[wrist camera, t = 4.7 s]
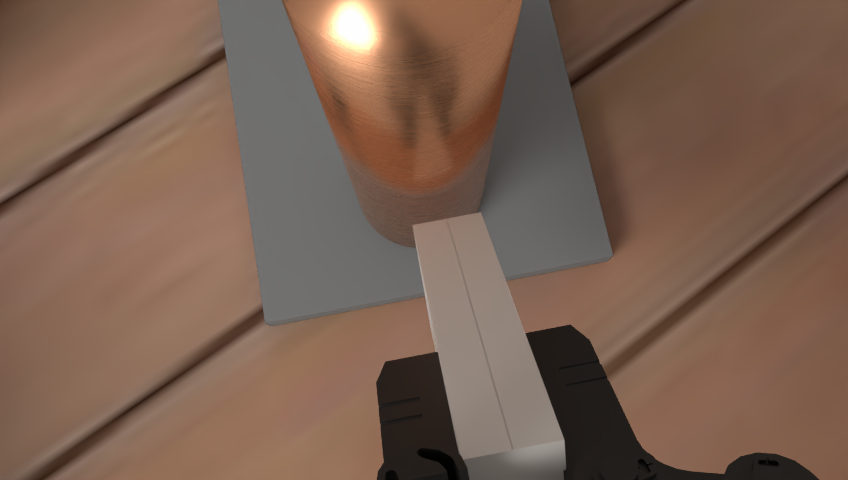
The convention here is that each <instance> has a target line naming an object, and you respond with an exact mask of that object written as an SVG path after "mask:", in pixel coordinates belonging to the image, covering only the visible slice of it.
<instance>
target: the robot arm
mask: <svg viewBox="0 0 848 480" xmlns="http://www.w3.org/2000/svg"><path fill="white" fill-rule="evenodd" d="M412 226H413V232H414V237H415V243H416V248H417V254H418V259H419V265H420V271H421V276H422V282H423V287H424V293H425V298H426V304H427V310H428V315H429V321H430V326H431V331H432V336H433V341H434V346H435V351H436V352H434V353H429V354H423V355H418V356H413V357H408V358H403V359H397V360H392V361H387V362H385V364H384V366H383V369H382V371H381V373H380V375H379V378H378V380H377V382H376V385H377V395H378V405H379V416H380V424H381V437H382V447H383V457H384V463H383V465H382V466H381V468H380V469H379V471H378V476H377V480H819V479H818V478H817V477H816V476H815V475H814V474H812V473H811V472H810V471H809V470H807V469H806V468H804V467H803V466H802V465H800V464H799V463H797V462H796V461H794V460H791V459H788V458H786V457H783V456H780V455H777V454H768V453H753V454H749V455H745V456H741V457H739V458H738V459H736V460H735V461H734V462H732V463H731V464H729V465H728V467H727V469H726V472H725V474H715V473H703V472H691V471H686V470H680V469H676V468H673V467H670V466H668V465H665V464H663V463H661V462H659V461H658V460H656V459H655V458H654V457H653V456H652V455H651V454H649V453H647V452H646V451H645V450H644V449H643V448H642V447H641V445H640V444H639V442H638V441H637V439H636V437H635V435H634V433H633V431H632V428H631V426H630V424H629V422H628V420H627V418H626V416H625V414H624V412H623V409H622V407H621V405H620V403H619V401H618V399H617V397H616V395H615V393H614V391H613V388H612V386H611V384H610V382H609V381H608V380H607V376H606V374H605V372H604V369H603V367H602V365H601V364H600V363H599V359H598V357H597V355H596V353H595V350H594V348H593V346H592V344H591V342H590V340H589V339H587V338H586V337H585V336H584V335H583V334H581V333H580V332H579V331H578V330H576V329H575V328H574V327H573V326H571V325H566V326H561V327H556V328H551V329H545V330H540V331H535V332H530V333H525V331H524V328H523V326H522V323H521V320H520V318H519V315H518V312H517V309H516V307H515V304H514V301H513V299H512V296H511V293H510V290H509V288H508V285H507V282H506V279H505V277H504V274H503V271H502V269H501V266H500V263H499V260H498V258H497V255H496V252H495V250H494V247H493V244H492V241H491V239H490V236H489V233H488V230H487V228H486V225H485V222H484V220H483V217H482V214H481V212H480V213H474V214H469V215H464V216H458V217H453V218H447V219H442V220H437V221H431V222H426V223H421V224H415V225H412Z"/></svg>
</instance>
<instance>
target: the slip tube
mask: <svg viewBox="0 0 848 480" xmlns="http://www.w3.org/2000/svg"><path fill="white" fill-rule="evenodd" d="M282 2H283V5H284V8H285V10H286V13H287V16H288V18H289V21H290V23H291V26H292V29H293V31H294V34H295V36H296V39H297V42H298V44H299V47H300V50H301V52H302V55H303V57H304V60H305V63H306V65H307V68H308V70H309V73H310V76H311V78H312V81H313V84H314V86H315V89H316V91H317V94H318V97H319V99H320V102H321V104H322V107H323V110H324V112H325V115H326V118H327V120H328V123H329V125H330V128H331V131H332V133H333V136H334V138H335V141H336V144H337V146H338V149H339V151H340V154H341V157H342V159H343V162H344V165H345V167H346V170H347V172H348V175H349V178H350V180H351V183H352V185H353V188H354V191H355V193H356V196H357V199H358V201H359V204H360V206H361V209H362V211H363V214H364V216H365V217H366V219H367V221H368V222H369V223H370V225H371V226H372V227H373V228H374V229H375V230H376V231H377V232H378V233H379V234H380V235H382V236H383V237H384V238H386V239H388V240H389V241H391V242H394V243H396V244H398V245H402V246H406V247H411V248H416V243H415V237H414V232H413V226H412V225H415V224H421V223H426V222H431V221H437V220H442V219H447V218H453V217H458V216H464V215H469V214H474V213H477V211H478V209H479V207H480V203H481V199H482V194H483V189H484V185H485V180H486V175H487V170H488V165H489V160H490V155H491V151H492V146H493V141H494V136H495V131H496V126H497V121H498V117H499V112H500V107H501V102H502V97H503V92H504V87H505V83H506V78H507V73H508V68H509V63H510V58H511V53H512V49H513V44H514V39H515V34H516V29H517V24H518V19H519V15H520V10H521V5H522V0H282Z"/></svg>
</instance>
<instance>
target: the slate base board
mask: <svg viewBox="0 0 848 480" xmlns="http://www.w3.org/2000/svg"><path fill="white" fill-rule="evenodd" d="M218 4H219V11H220V18H221V25H222V31H223V38H224V45H225V52H226V59H227V66H228V72H229V79H230V86H231V93H232V100H233V107H234V113H235V120H236V127H237V134H238V141H239V147H240V154H241V161H242V168H243V175H244V182H245V188H246V195H247V202H248V209H249V216H250V223H251V229H252V236H253V243H254V250H255V257H256V263H257V270H258V277H259V284H260V291H261V298H262V304H263V311H264V318H265V323H266V324H268V325H270V326H275V325H280V324H285V323H290V322H296V321H301V320H306V319H311V318H316V317H321V316H327V315H332V314H337V313H342V312H347V311H352V310H358V309H363V308H368V307H373V306H378V305H383V304H389V303H394V302H399V301H404V300H409V299H414V298H420V297H425V293H424V287H423V282H422V276H421V271H420V265H419V259H418V254H417V248H411V247H406V246H402V245H398V244H396V243H394V242H391V241H389V240H388V239H386V238H384V237H383V236H382V235H380V234H379V233H378V232H377V231H376V230H375V229H374V228H373V227H372V226H371V225H370V223H369V222H368V221H367V219H366V217H365V216H364V214H363V211H362V209H361V206H360V204H359V201H358V199H357V196H356V193H355V191H354V188H353V185H352V183H351V180H350V178H349V175H348V172H347V170H346V167H345V165H344V162H343V159H342V157H341V154H340V151H339V149H338V146H337V144H336V141H335V138H334V136H333V133H332V131H331V128H330V125H329V123H328V120H327V118H326V115H325V112H324V110H323V107H322V104H321V102H320V99H319V97H318V94H317V91H316V89H315V86H314V84H313V81H312V78H311V76H310V73H309V70H308V68H307V65H306V63H305V60H304V57H303V55H302V52H301V50H300V47H299V44H298V42H297V39H296V36H295V34H294V31H293V29H292V26H291V23H290V21H289V18H288V16H287V13H286V10H285V8H284V5H283V2H282V0H218ZM480 212H481V214H482V217H483V220H484V222H485V225H486V228H487V230H488V233H489V236H490V239H491V241H492V244H493V247H494V250H495V252H496V255H497V258H498V260H499V263H500V266H501V269H502V271H503V274H504V277H505V279H506V281H507V280H513V279H518V278H523V277H528V276H533V275H539V274H544V273H549V272H554V271H559V270H564V269H570V268H575V267H580V266H585V265H590V264H595V263H601V262H606V261H608V260H609V259H610V258H611V257H613V253H612V249H611V245H610V241H609V237H608V233H607V229H606V225H605V221H604V217H603V213H602V209H601V205H600V201H599V197H598V193H597V189H596V185H595V181H594V177H593V174H592V170H591V166H590V162H589V158H588V154H587V150H586V146H585V142H584V138H583V134H582V130H581V126H580V122H579V118H578V114H577V110H576V106H575V102H574V98H573V94H572V90H571V86H570V82H569V78H568V74H567V70H566V66H565V62H564V58H563V54H562V50H561V46H560V42H559V38H558V35H557V31H556V27H555V23H554V19H553V15H552V11H551V7H550V3H549V0H522V5H521V10H520V15H519V19H518V24H517V29H516V34H515V39H514V44H513V49H512V53H511V58H510V63H509V68H508V73H507V78H506V83H505V87H504V92H503V97H502V102H501V107H500V112H499V117H498V121H497V126H496V131H495V136H494V141H493V146H492V151H491V155H490V160H489V165H488V170H487V175H486V180H485V185H484V189H483V194H482V199H481V203H480V207H479V209H478V211H477V213H480Z"/></svg>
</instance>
